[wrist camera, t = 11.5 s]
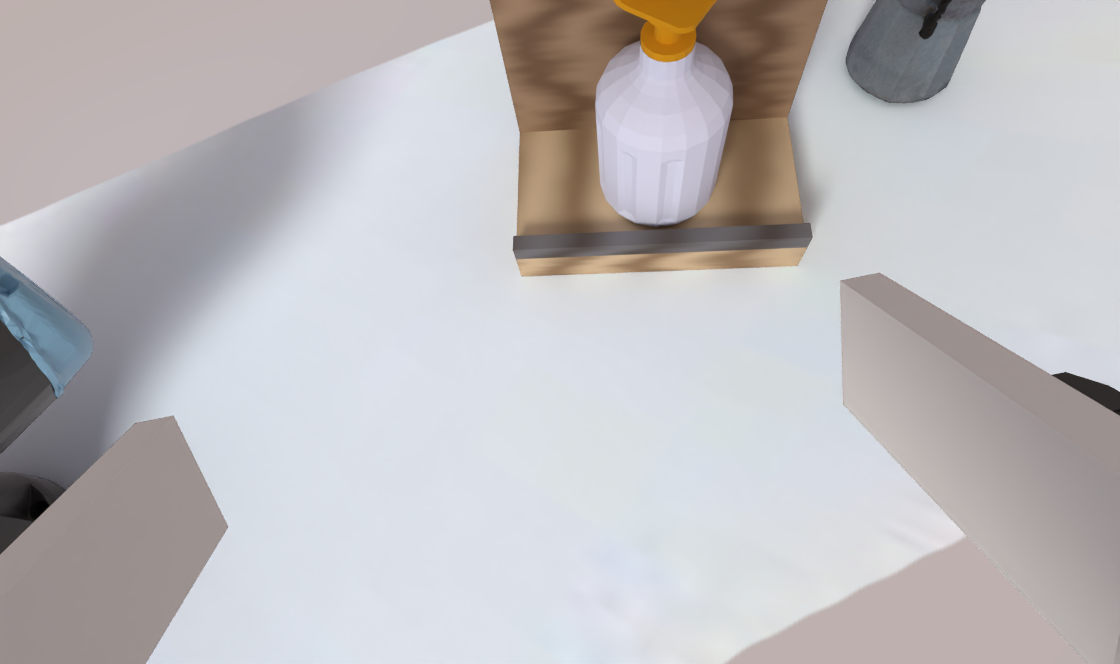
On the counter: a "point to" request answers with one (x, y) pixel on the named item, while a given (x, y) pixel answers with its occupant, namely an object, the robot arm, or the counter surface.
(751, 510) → the counter surface
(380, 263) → the counter surface
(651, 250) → the cleat shelf
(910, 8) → the moka pot
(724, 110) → the soap bottle
